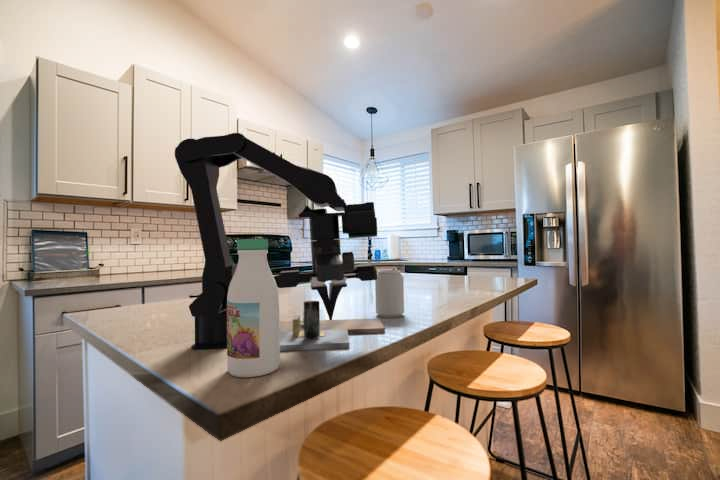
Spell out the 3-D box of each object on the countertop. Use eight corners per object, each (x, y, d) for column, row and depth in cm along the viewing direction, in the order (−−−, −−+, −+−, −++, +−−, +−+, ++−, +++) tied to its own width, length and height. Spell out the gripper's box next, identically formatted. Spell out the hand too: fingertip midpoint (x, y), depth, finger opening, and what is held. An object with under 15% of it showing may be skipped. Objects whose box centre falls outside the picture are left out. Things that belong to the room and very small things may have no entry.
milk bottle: (263, 357, 58) (262, 239, 59) (289, 368, 53) (288, 238, 53) (218, 370, 53) (217, 239, 53) (242, 383, 47) (241, 238, 48)
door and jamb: (260, 351, 62) (259, 326, 62) (278, 325, 82) (278, 306, 82) (392, 346, 64) (392, 322, 64) (378, 322, 84) (378, 303, 84)
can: (403, 312, 95) (402, 269, 95) (404, 318, 88) (403, 271, 88) (376, 312, 96) (375, 269, 96) (375, 318, 88) (374, 271, 89)
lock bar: (303, 320, 80) (302, 292, 80) (318, 320, 80) (318, 292, 81) (302, 338, 65) (302, 303, 65) (321, 337, 65) (321, 302, 65)
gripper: (273, 242, 58) (279, 335, 58) (381, 236, 61) (387, 323, 61) (277, 243, 69) (282, 321, 69) (368, 237, 72) (373, 312, 72)
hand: (330, 319), depth 68 cm, fingers closed
